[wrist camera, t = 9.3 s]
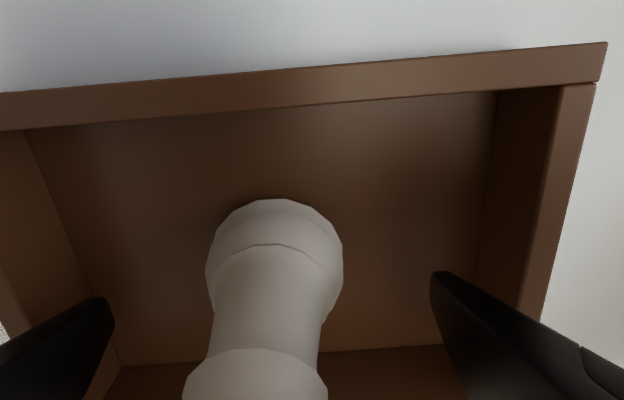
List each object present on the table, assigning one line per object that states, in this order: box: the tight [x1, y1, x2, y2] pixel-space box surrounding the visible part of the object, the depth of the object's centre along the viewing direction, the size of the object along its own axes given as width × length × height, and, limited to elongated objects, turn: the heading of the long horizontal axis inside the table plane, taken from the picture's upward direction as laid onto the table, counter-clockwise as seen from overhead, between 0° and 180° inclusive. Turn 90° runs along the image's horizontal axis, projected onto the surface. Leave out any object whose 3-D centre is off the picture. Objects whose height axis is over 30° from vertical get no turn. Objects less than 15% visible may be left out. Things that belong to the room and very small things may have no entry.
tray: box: [0, 42, 608, 400], centre depth 10 cm, size 12×16×3 cm
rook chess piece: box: [182, 199, 343, 400], centre depth 8 cm, size 4×4×8 cm
